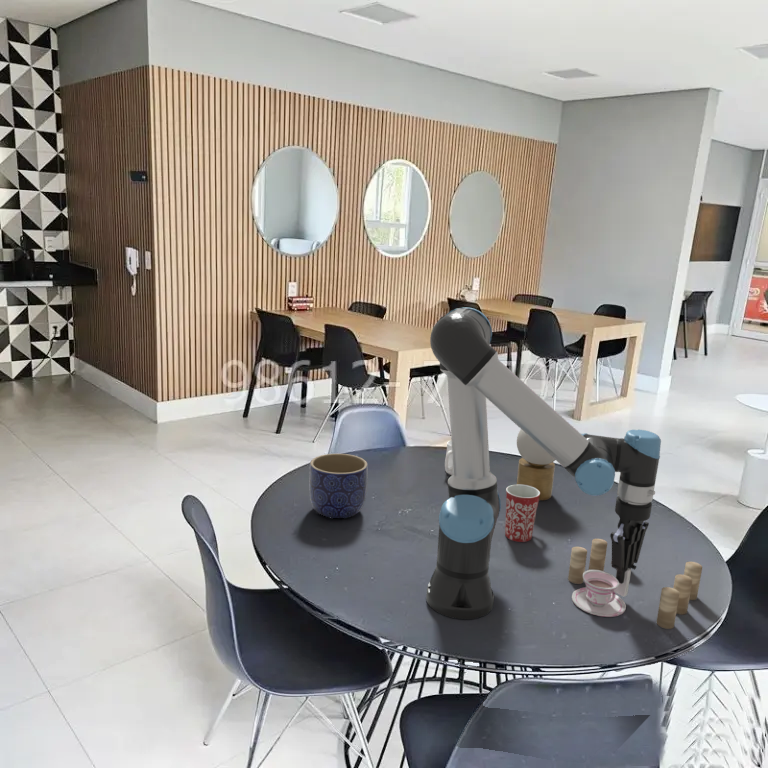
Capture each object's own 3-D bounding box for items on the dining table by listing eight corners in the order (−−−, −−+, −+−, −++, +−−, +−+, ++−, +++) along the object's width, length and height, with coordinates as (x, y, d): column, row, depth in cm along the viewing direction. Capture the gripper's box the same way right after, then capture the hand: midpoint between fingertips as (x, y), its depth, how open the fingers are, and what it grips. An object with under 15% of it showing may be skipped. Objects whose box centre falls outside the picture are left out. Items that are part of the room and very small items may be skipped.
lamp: (558, 508, 210) (568, 429, 204) (511, 503, 212) (519, 425, 206) (554, 489, 224) (563, 415, 218) (510, 484, 226) (518, 411, 220)
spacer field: (668, 631, 149) (674, 597, 147) (565, 579, 168) (568, 549, 166) (710, 601, 162) (715, 570, 160) (609, 556, 181) (613, 528, 179)
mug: (522, 547, 184) (527, 500, 180) (495, 535, 190) (499, 489, 187) (548, 533, 192) (553, 488, 189) (521, 522, 199) (526, 478, 195)
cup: (474, 471, 236) (476, 443, 234) (454, 481, 227) (457, 452, 224) (453, 465, 241) (455, 438, 239) (434, 474, 232) (436, 445, 229)
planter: (374, 520, 195) (376, 470, 192) (317, 527, 189) (319, 476, 186) (354, 497, 210) (356, 451, 207) (301, 503, 204) (302, 455, 201)
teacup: (560, 594, 162) (563, 570, 160) (602, 585, 166) (605, 562, 165) (594, 622, 151) (597, 596, 150) (637, 612, 156) (641, 588, 154)
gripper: (635, 511, 147) (620, 610, 153) (664, 497, 156) (649, 591, 162) (603, 500, 153) (590, 595, 159) (634, 487, 161) (620, 577, 167)
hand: (620, 593), depth 160 cm, fingers closed
